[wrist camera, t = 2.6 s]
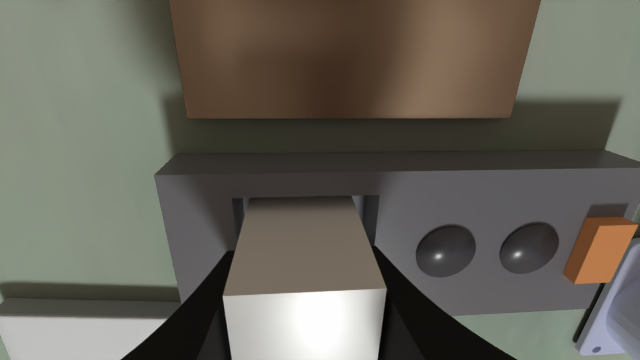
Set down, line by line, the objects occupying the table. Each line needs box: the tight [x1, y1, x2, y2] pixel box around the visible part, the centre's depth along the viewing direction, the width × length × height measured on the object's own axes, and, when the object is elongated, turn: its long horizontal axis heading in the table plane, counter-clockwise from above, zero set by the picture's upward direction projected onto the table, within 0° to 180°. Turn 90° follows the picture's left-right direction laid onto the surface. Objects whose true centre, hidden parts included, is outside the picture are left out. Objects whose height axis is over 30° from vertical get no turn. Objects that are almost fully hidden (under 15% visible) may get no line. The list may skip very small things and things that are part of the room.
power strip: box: [154, 150, 640, 316], centre depth 13 cm, size 18×7×3 cm, turn 89°
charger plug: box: [223, 196, 387, 360], centre depth 11 cm, size 4×4×6 cm
